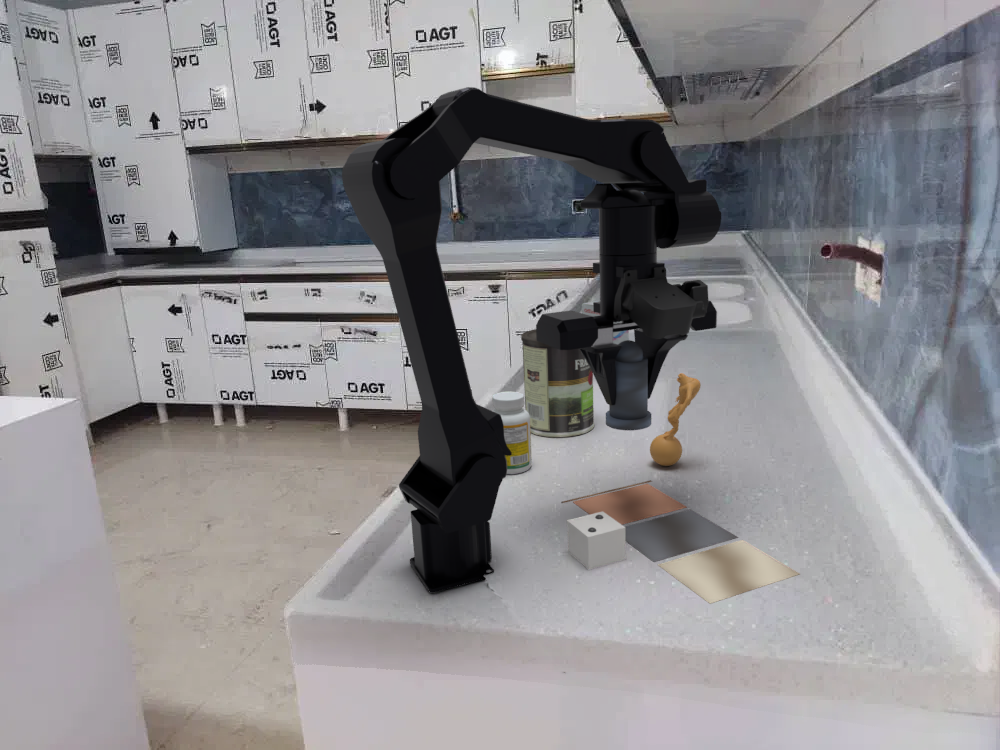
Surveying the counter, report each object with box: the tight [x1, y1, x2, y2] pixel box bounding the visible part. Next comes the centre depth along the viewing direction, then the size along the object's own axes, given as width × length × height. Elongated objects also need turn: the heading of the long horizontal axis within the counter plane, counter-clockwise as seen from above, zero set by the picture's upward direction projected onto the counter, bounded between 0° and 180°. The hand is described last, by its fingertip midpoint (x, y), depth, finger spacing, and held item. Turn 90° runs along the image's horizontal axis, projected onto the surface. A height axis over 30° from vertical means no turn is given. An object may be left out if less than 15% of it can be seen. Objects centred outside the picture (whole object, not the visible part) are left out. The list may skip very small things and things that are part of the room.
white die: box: [566, 511, 627, 571], centre depth 71 cm, size 4×4×4 cm
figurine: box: [649, 372, 701, 467], centre depth 92 cm, size 8×6×12 cm
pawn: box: [605, 339, 652, 431], centre depth 78 cm, size 5×5×9 cm
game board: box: [561, 480, 801, 605], centre depth 75 cm, size 12×25×1 cm, turn 24°
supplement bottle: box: [491, 391, 533, 475], centre depth 95 cm, size 5×5×10 cm
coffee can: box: [520, 328, 595, 438], centre depth 109 cm, size 10×10×14 cm
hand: (628, 401), depth 79 cm, fingers closed on pawn, 4 cm apart
